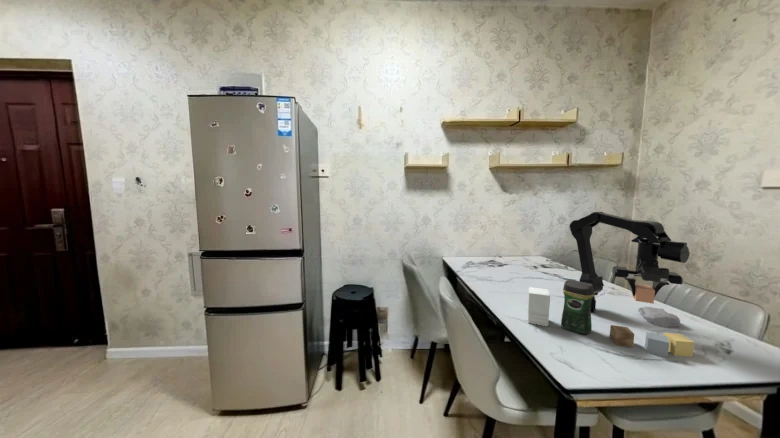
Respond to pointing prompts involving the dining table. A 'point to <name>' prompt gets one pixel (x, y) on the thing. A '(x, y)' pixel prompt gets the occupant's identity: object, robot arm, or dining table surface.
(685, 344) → the ochre cube
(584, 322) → the coffee jar
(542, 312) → the supplement box
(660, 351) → the slate cube
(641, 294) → the terracotta cube
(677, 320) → the stone block
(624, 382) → the dining table surface
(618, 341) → the walnut cube
